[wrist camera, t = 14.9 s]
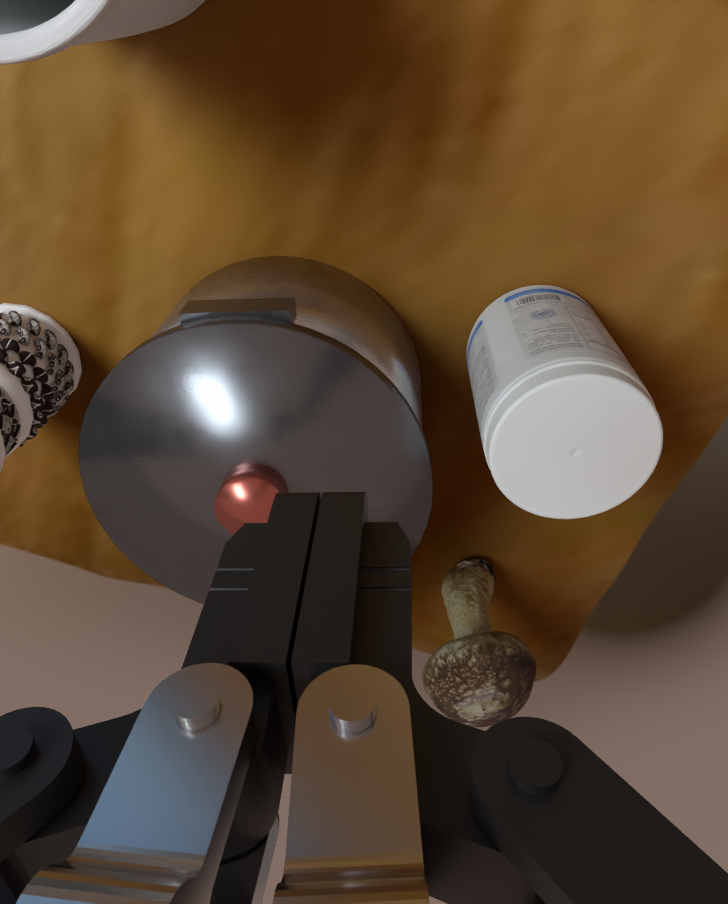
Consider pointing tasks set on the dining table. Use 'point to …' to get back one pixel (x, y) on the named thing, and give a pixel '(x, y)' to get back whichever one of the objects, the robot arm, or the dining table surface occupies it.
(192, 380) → the cooker lid
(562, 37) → the dining table surface
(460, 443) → the dining table surface
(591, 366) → the supplement tub
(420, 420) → the cooker pot
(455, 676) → the mushroom
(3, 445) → the decorative candle
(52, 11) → the utensil holder
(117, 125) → the dining table surface
